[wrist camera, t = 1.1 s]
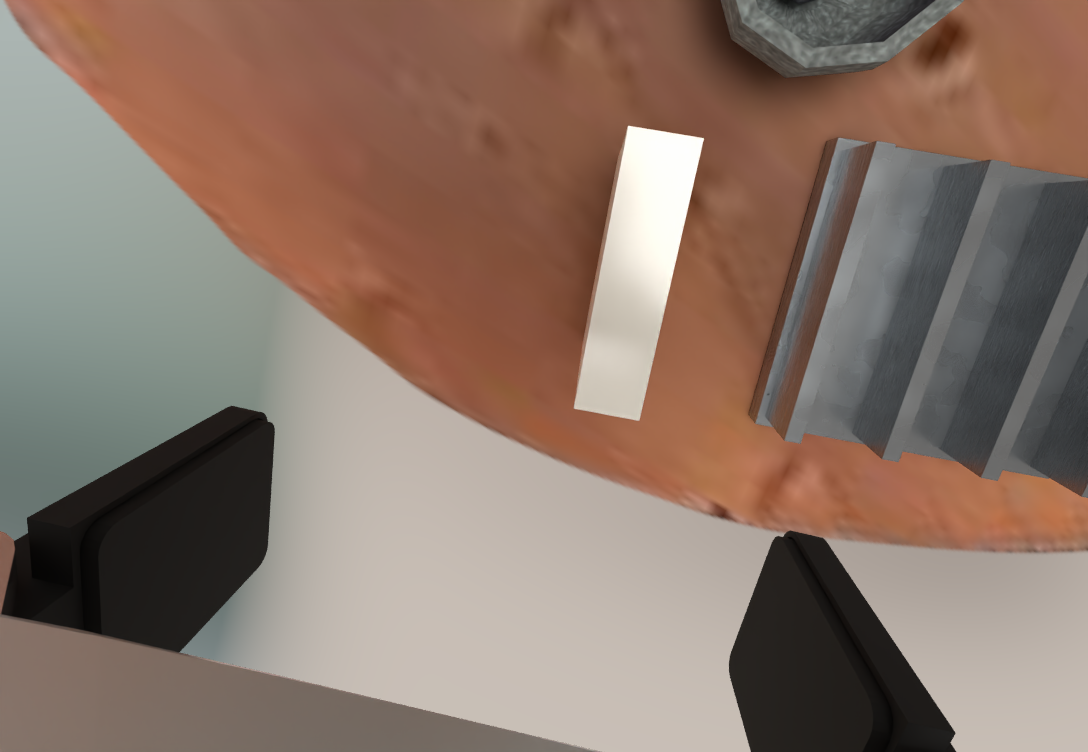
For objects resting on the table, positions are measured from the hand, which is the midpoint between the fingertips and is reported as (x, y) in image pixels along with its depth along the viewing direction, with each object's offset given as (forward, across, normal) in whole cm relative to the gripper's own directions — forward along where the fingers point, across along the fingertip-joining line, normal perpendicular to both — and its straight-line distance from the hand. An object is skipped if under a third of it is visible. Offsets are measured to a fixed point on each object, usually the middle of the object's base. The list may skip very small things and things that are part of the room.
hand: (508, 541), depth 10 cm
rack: (+23, -19, -4) cm, 30 cm away
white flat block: (+23, -2, -4) cm, 24 cm away
